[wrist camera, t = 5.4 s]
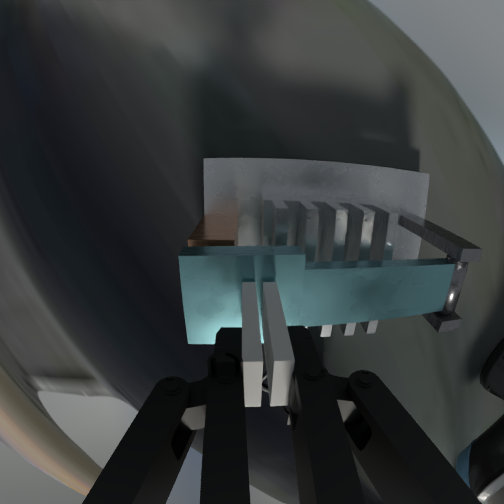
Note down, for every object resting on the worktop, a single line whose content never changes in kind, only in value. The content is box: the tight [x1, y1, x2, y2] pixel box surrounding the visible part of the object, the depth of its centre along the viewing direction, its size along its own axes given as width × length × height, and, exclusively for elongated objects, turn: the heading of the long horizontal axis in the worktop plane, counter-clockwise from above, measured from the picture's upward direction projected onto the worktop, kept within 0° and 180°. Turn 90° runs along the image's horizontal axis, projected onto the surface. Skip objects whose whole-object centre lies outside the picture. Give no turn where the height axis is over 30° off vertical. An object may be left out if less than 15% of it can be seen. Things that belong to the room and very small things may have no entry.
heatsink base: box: [188, 158, 482, 337], centre depth 22 cm, size 22×16×12 cm
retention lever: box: [179, 245, 469, 344], centre depth 18 cm, size 21×6×2 cm, turn 89°
